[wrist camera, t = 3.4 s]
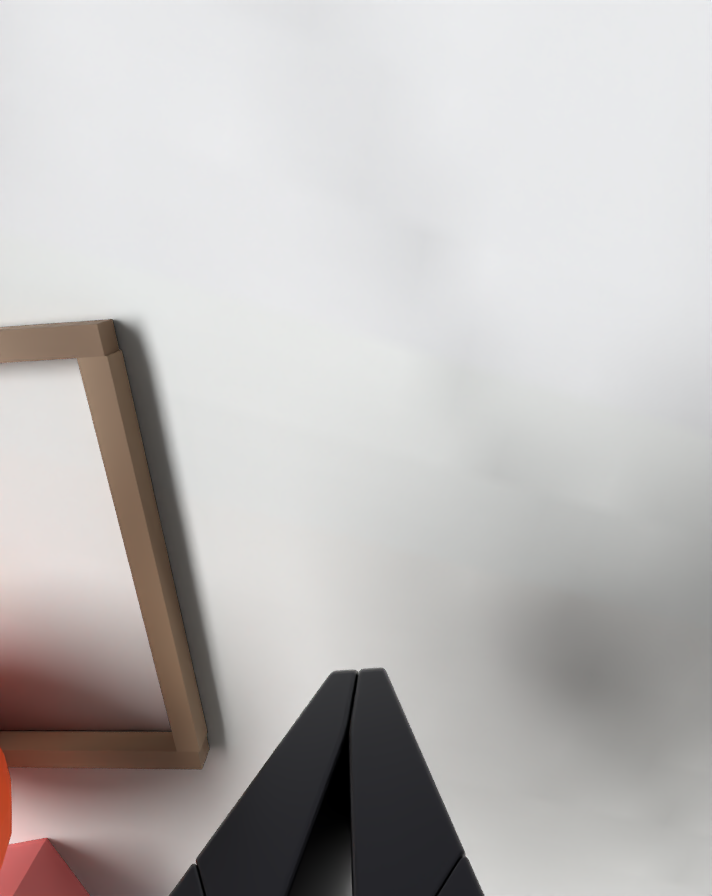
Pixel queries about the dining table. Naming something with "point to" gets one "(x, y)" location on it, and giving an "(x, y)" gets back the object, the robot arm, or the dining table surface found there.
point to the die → (37, 871)
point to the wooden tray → (144, 555)
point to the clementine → (5, 807)
